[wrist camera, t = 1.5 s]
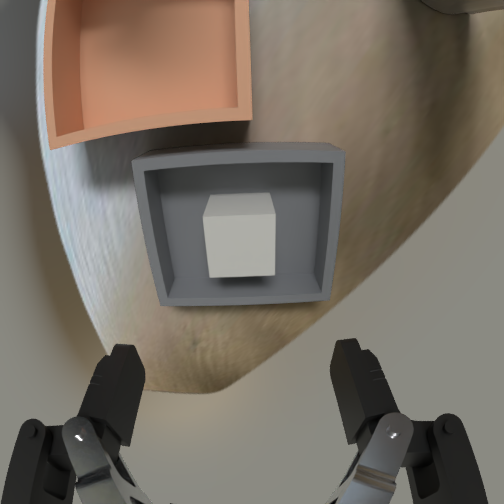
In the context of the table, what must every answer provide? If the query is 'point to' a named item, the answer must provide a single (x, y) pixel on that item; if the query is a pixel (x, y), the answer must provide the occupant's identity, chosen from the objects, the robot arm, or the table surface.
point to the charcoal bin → (231, 182)
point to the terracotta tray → (143, 66)
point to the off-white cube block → (240, 235)
